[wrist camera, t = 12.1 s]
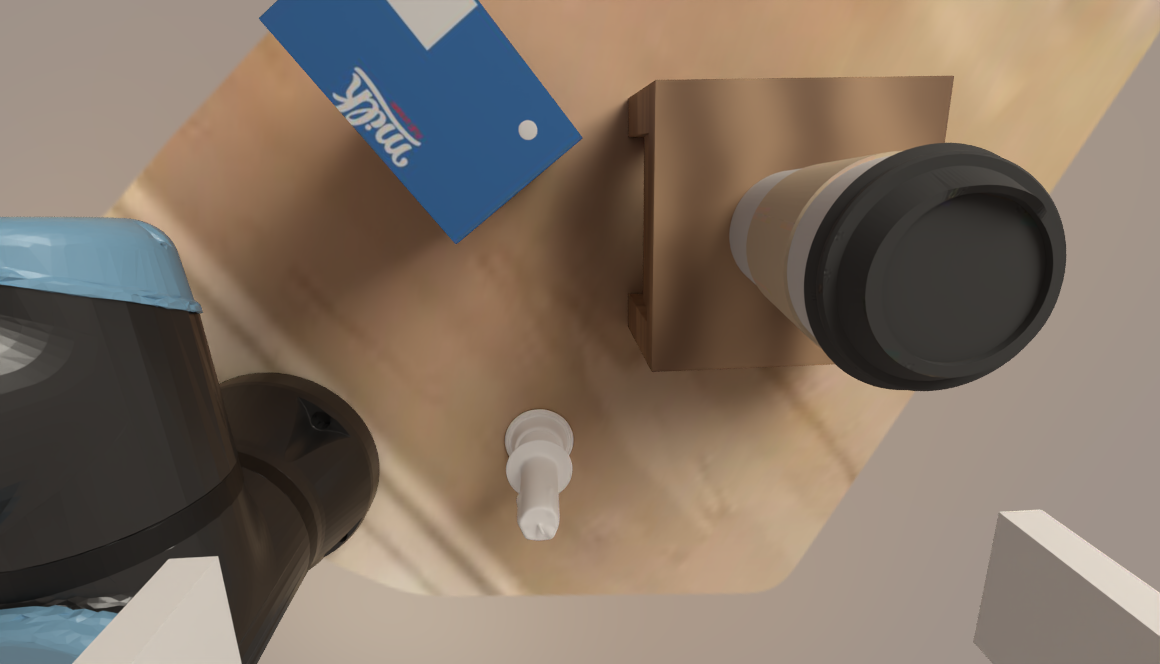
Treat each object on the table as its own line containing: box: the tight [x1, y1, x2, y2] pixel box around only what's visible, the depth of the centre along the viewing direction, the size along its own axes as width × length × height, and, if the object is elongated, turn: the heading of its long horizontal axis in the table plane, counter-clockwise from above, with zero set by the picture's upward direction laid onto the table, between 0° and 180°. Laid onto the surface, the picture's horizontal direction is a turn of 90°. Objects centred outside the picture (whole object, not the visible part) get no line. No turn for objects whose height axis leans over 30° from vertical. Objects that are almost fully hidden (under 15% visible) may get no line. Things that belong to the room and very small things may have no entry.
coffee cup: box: [729, 143, 1066, 391], centre depth 27 cm, size 9×9×15 cm
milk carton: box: [259, 0, 582, 244], centre depth 31 cm, size 10×6×20 cm, turn 39°
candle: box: [505, 409, 573, 541], centre depth 42 cm, size 5×5×12 cm
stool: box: [628, 76, 954, 372], centre depth 39 cm, size 16×16×10 cm
